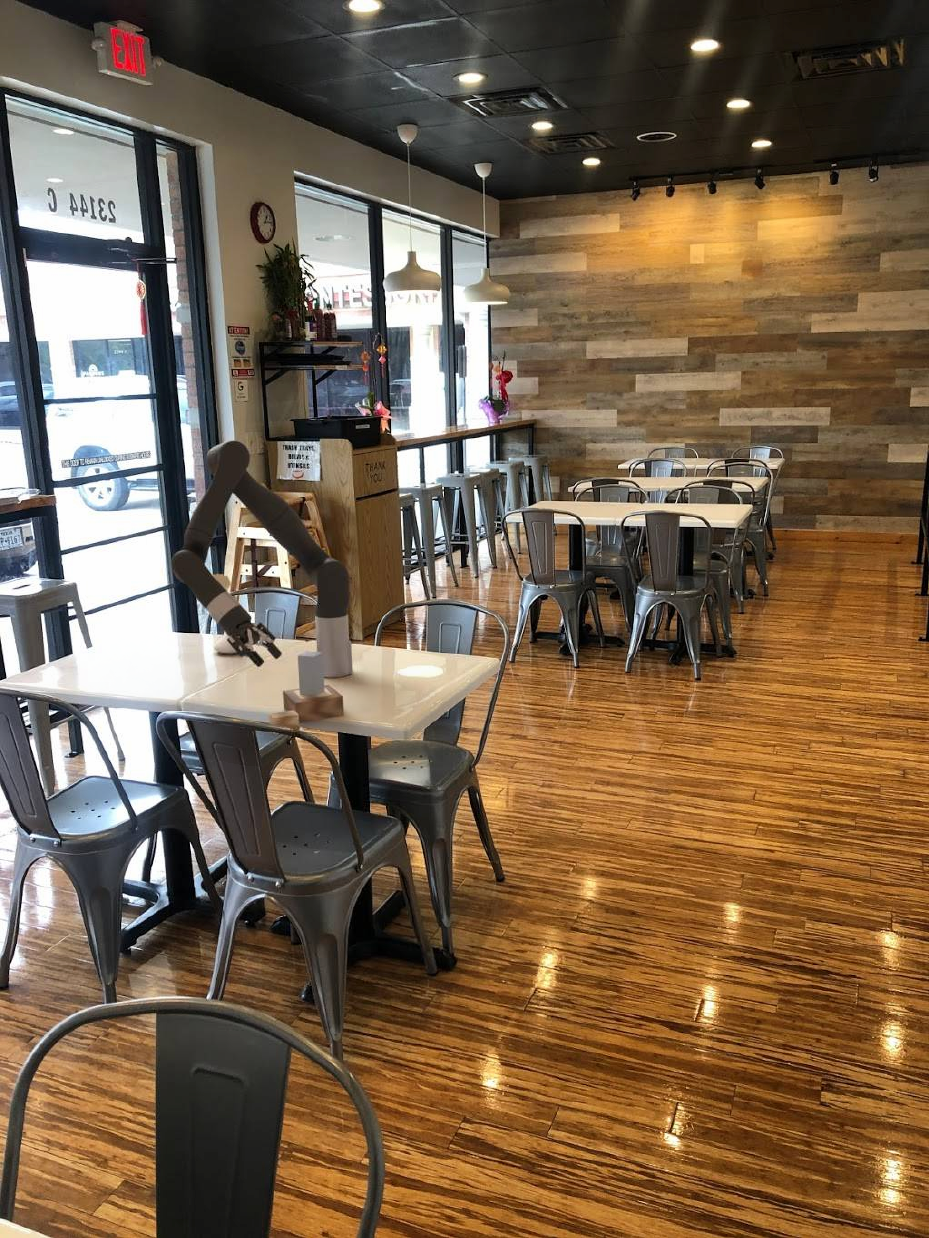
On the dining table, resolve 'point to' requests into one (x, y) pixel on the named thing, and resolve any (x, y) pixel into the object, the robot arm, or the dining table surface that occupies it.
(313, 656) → the pillar
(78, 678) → the dining table surface
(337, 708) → the plinth
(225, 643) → the flower in vase
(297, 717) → the oak block
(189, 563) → the robot arm
